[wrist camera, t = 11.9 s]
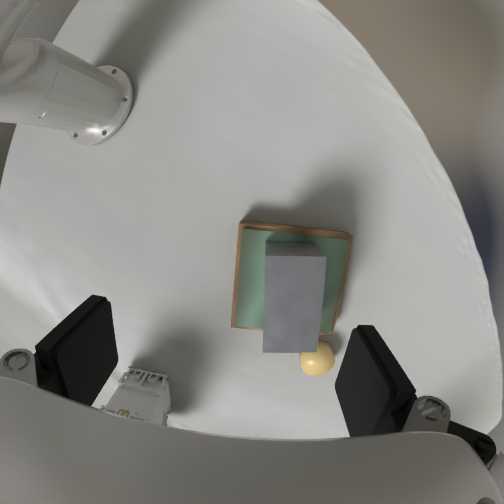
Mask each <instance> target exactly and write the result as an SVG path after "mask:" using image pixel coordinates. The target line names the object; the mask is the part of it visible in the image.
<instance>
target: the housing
mask: <svg viewBox="0 0 504 504" xmlns="http://www.w3.org/2000/svg"><path fill="white" fill-rule="evenodd" d="M326 259H327V256H326V255H325V254H324V252H323V251H322V250H321V249H320V247H319V246H318V245H317V243H316V242H306V241H266V243H265V288H264V329H263V352H271V353H307V352H317V347H318V339H319V331H320V323H321V314H322V304H323V294H324V284H325V272H326Z"/></svg>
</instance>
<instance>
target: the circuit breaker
mask: <svg viewBox="0 0 504 504" xmlns="http://www.w3.org/2000/svg"><path fill="white" fill-rule="evenodd" d="M133 371H135V372H133ZM138 372H141V373H138ZM144 374H145V375H144ZM149 375H150V376H149ZM152 375H155V376H152ZM124 377H125V379H124ZM160 377H163V379H162V381H160ZM166 378H168V375H164V374H159V373H154V372H149V371H144V370H139V369H135V368H131V367H128V372H125V373H124V374H123V376H122V377H121V379H120V380H119V382H118V386H119V387H118V388H117V390H116V392H115V393H114V395H113V396H112V398H111V399H110V401H109V402H108V404H107V405H106V406H103V405H102V407H101V408H100V409H101V410H104V411H107V412H111V413H114V414H118V415H121V416H125V417H129V418H133V419H137V420H141V421H145V422H149V423H154V424H159V425H163V426H167V418H168V416H167V415H168V414H169V413H170V411H171V408H172V405H171V398H170V390H169V381H166Z"/></svg>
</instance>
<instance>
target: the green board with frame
mask: <svg viewBox="0 0 504 504" xmlns="http://www.w3.org/2000/svg"><path fill="white" fill-rule="evenodd" d="M351 240H352V236H351V235H350V234H348V233H347V232H340V231H332V230H324V229H315V228H306V227H297V226H288V225H279V224H269V223H259V222H249V221H240V223H239V230H238V242H237V254H236V267H235V279H234V292H233V306H232V320H231V327H234V328H243V329H252V330H262V331H263V329H264V288H265V243H266V241H306V242H316V243H317V245H318V246H319V247H320V249H321V250H322V251H323V252H324V254H325V255H326V256H327V259H326V272H325V284H324V294H323V304H322V314H321V323H320V331H319V335H331V336H332V335H333V331H334V326H335V322H336V318H337V313H338V309H339V304H340V300H341V295H342V290H343V285H344V280H345V274H346V269H347V264H348V258H349V252H350V246H351Z"/></svg>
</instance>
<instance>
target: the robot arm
mask: <svg viewBox="0 0 504 504" xmlns="http://www.w3.org/2000/svg"><path fill="white" fill-rule="evenodd" d="M38 2H39V0H0V122H9V123H16V124H24V125H32V126H39V127H46V128H53V129H59V130H65V131H66V132H67V134H68V135H69V136H70V138H71V139H72V140H74V141H75V142H77V143H80V144H84V145H95V144H98V143H101V142H103V141H105V140H107V139H109V138H110V137H111V136H112V135H114V134H115V133H116V132H117V131H118V130H119V129H120V127H121V126H122V124H123V123H124V122H125V120H126V118H127V116H128V114H129V111H130V109H131V106H132V100H133V87H132V83H131V80H130V78H129V77H128V75H127V74H126V73H125V72H124V71H122V70H121V69H119V68H118V67H115V66H111V65H103V66H98V67H95V66H93V65H91V64H89V63H88V62H86V61H84V60H82V59H80V58H79V57H77V56H75V55H73V54H71V53H69V52H67V51H65V50H64V49H62V48H60V47H58V46H56V45H54V44H52V43H50V42H48V41H45V40H43V39H38V38H26V39H21V40H18V41H14V42H11V43H10V41H11V39H12V38H13V36H14V35H15V33H16V32H17V30H18V29H19V27H20V26H21V25H22V23H23V22H24V20H25V19H26V18H27V16H28V15H29V14H30V12H31V11H32V10H33V8H34V7H35V6H36V5H37V3H38ZM127 99H128V100H127ZM106 133H107V134H106ZM35 349H36V353H35V354H34V355H33V354H32V352H31V351H29V350H27V349H14V350H11V351H8V352H7V353H5V354H4V355H3V356H2V358H1V359H0V504H504V454H503V453H502V452H499V454H496V446H495V443H494V442H493V440H492V439H491V438H490V437H489V436H487V435H486V434H483V433H481V432H478V431H476V430H473V429H470V428H468V427H465V426H463V425H460V424H458V423H455V422H453V421H450V409H449V407H448V406H447V404H446V403H445V402H443V401H442V400H441V399H439V398H436V397H433V396H422V397H419V398H417V396H416V395H415V392H416V389H415V388H414V386H413V385H412V383H411V381H410V380H409V378H408V377H407V375H406V374H405V372H404V371H403V369H402V368H401V366H400V364H399V363H398V361H397V360H396V358H395V357H394V355H393V354H392V352H391V351H390V349H389V348H388V346H387V345H386V343H385V342H384V340H383V339H382V338H381V336H380V335H379V333H378V332H377V330H376V329H375V327H374V326H373V325H358V326H357V328H354V329H353V330H352V333H351V336H350V339H349V343H348V346H347V349H346V352H345V355H344V358H343V361H342V364H341V367H340V370H339V373H338V376H337V379H336V382H335V390H336V393H337V396H338V400H339V403H340V406H341V409H342V412H343V415H344V418H345V422H346V425H347V428H348V431H349V435H350V437H345V438H326V439H270V438H252V437H239V436H228V435H219V434H211V433H204V432H197V431H191V430H185V429H179V428H173V427H168V426H163V425H159V424H154V423H149V422H145V421H141V420H137V419H133V418H129V417H125V416H121V415H118V414H114V413H111V412H107V411H104V410H101V409H98V408H94V407H91V406H92V404H93V402H94V401H95V399H96V397H97V396H98V394H99V393H100V391H101V389H102V388H103V386H104V384H105V383H106V381H107V380H108V378H109V377H110V375H111V373H112V372H113V370H114V369H115V367H116V365H117V363H118V353H117V347H116V340H115V333H114V326H113V318H112V309H111V303H110V302H109V301H107V298H106V297H102V296H97V295H91V296H90V297H89V298H88V299H87V300H85V301H84V302H83V303H82V304H81V305H80V306H78V307H77V308H76V309H75V310H74V311H73V312H72V313H71V314H69V315H68V316H67V317H66V318H65V319H64V320H63V321H62V322H60V323H59V324H58V325H57V326H56V327H55V328H54V329H53V330H52V331H51V332H50V333H48V334H47V335H46V336H45V337H44V338H43V339H42V340H41V341H40V342H39V343H38V344H37V345H36V346H35Z"/></svg>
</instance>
